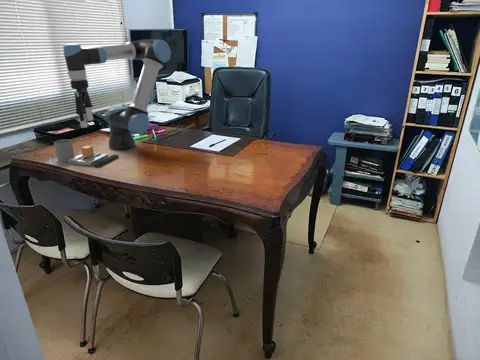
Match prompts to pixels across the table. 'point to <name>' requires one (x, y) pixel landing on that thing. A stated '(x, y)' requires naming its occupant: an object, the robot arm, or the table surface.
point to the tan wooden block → (87, 151)
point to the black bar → (106, 160)
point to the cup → (64, 150)
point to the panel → (87, 159)
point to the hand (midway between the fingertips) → (87, 123)
